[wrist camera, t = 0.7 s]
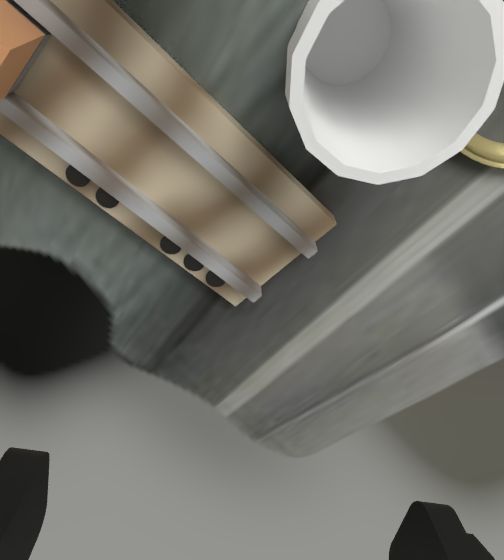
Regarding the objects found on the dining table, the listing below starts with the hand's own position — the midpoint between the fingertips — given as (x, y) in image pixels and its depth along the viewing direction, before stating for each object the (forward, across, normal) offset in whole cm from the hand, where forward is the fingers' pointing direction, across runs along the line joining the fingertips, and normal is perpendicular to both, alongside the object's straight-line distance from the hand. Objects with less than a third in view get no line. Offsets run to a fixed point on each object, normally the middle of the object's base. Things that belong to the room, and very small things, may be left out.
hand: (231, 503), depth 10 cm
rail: (+28, +8, -3) cm, 30 cm away
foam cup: (+27, -5, -12) cm, 30 cm away
